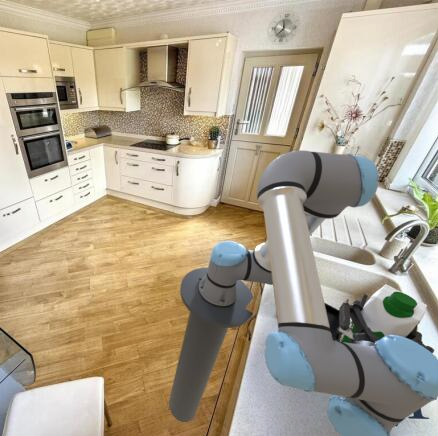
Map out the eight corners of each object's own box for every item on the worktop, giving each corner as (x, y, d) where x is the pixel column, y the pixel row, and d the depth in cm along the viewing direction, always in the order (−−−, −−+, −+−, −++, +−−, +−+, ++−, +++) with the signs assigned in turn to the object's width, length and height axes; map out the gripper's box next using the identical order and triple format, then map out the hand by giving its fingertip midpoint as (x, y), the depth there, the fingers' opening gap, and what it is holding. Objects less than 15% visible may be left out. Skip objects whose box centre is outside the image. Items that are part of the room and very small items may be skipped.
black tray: (276, 317, 87) (287, 296, 81) (289, 294, 97) (299, 274, 91) (333, 351, 76) (350, 330, 71) (340, 321, 87) (356, 301, 81)
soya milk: (335, 341, 63) (376, 289, 53) (348, 325, 68) (388, 275, 58) (375, 370, 57) (430, 318, 47) (386, 350, 62) (438, 299, 52)
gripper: (304, 339, 55) (331, 294, 69) (435, 429, 42) (437, 350, 55) (318, 319, 51) (343, 275, 65) (467, 411, 38) (460, 331, 51)
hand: (386, 310), depth 60 cm, fingers closed on soya milk, 9 cm apart
